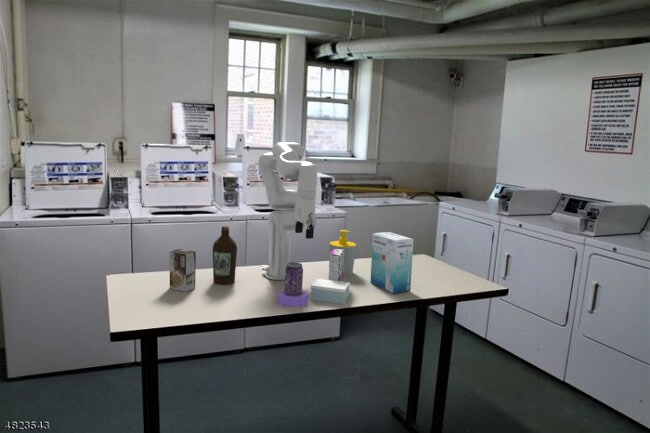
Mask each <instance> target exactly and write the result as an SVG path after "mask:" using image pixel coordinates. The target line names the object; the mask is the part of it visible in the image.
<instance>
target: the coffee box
mask: <svg viewBox="0 0 650 433" xmlns="http://www.w3.org/2000/svg"><path fill="white" fill-rule="evenodd" d="M196 253H197V252H196V251H195V250H191V249H190V250H189V249H182V248H177V249H174V250H171V251H169V252H168V255H169V258H168V259H169V260H168V261H169V289H170V290H171V289H172V290H177V291H180V292H181V291H182V292H186V293H187V292H189V291H192V290H195V289H196V272H197V271H196V270H197V269H196V268H197V267H196V263H197V262H196V259H197V256H196Z"/></svg>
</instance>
